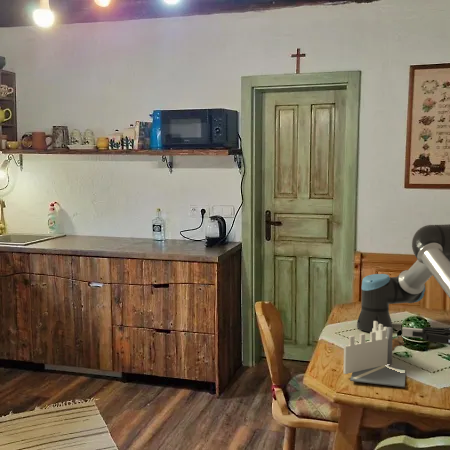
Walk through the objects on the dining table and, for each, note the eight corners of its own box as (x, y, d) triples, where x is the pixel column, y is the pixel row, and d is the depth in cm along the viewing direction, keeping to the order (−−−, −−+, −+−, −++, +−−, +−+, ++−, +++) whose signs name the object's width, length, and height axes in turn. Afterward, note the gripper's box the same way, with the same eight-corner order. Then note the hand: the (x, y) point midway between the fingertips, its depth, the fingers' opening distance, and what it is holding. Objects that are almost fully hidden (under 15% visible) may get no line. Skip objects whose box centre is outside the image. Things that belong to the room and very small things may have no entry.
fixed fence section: (392, 365, 209) (393, 328, 207) (387, 365, 208) (388, 328, 207) (375, 352, 223) (376, 318, 221) (370, 353, 222) (371, 318, 221)
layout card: (359, 351, 226) (359, 349, 226) (406, 355, 220) (406, 354, 220) (350, 380, 195) (350, 379, 195) (404, 387, 189) (404, 385, 189)
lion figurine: (387, 329, 233) (408, 335, 228) (386, 340, 235) (407, 347, 230) (372, 345, 223) (394, 352, 217) (371, 356, 224) (393, 364, 219)
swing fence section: (385, 363, 209) (386, 329, 208) (387, 364, 208) (388, 329, 207) (343, 373, 200) (344, 337, 199) (345, 374, 199) (346, 337, 198)
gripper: (477, 356, 182) (401, 347, 189) (474, 343, 194) (402, 336, 201) (479, 333, 181) (402, 326, 188) (475, 322, 193) (403, 315, 200)
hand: (402, 331), depth 195 cm, fingers closed
